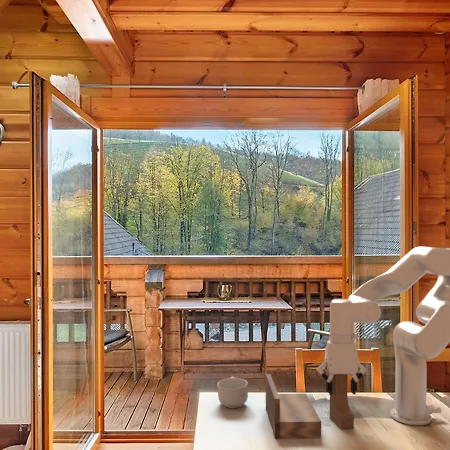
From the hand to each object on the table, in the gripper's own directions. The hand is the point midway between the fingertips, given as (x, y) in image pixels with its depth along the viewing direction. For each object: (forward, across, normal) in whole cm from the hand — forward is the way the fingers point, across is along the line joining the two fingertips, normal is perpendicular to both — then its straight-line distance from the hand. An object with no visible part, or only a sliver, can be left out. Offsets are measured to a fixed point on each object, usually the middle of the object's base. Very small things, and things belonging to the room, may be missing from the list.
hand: (341, 392), depth 148 cm
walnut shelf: (+10, +16, -1) cm, 19 cm away
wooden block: (+10, 0, 0) cm, 10 cm away
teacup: (+10, +34, -17) cm, 39 cm away
